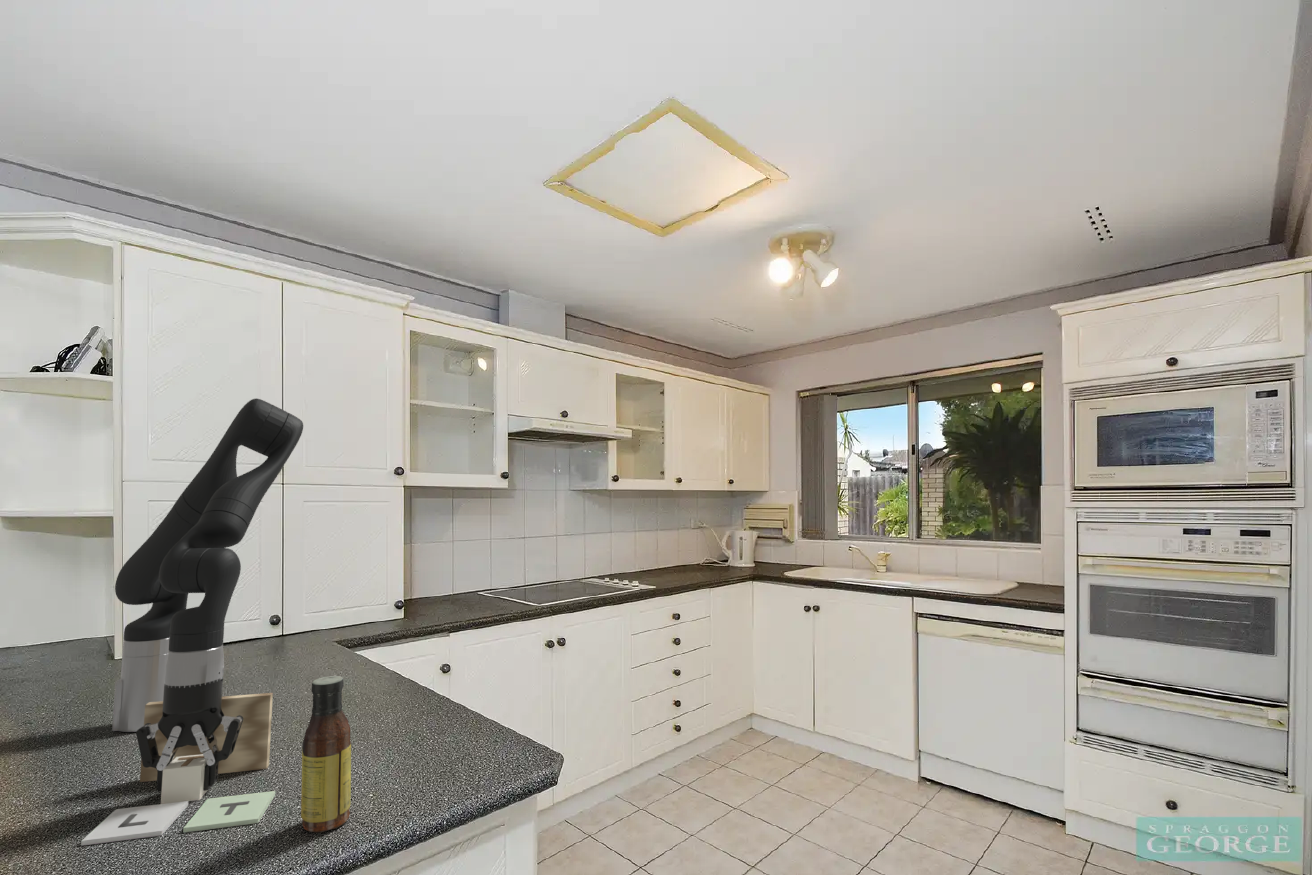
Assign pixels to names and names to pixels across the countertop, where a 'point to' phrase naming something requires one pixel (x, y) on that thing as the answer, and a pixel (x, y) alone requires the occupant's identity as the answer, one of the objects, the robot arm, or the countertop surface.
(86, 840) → the board
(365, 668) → the countertop surface
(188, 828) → the board
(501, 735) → the countertop surface
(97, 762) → the countertop surface
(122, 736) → the countertop surface
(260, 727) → the thin wooden plank
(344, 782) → the sauce bottle
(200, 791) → the cube
